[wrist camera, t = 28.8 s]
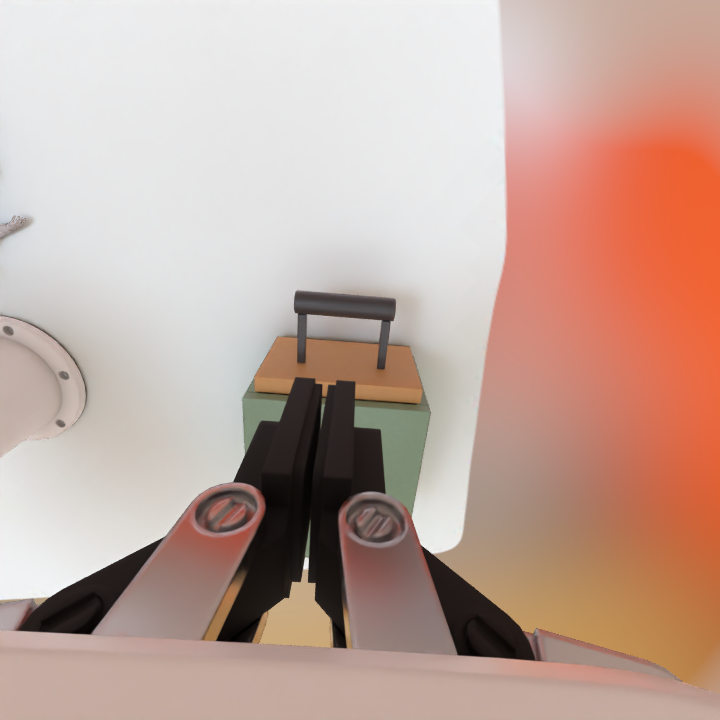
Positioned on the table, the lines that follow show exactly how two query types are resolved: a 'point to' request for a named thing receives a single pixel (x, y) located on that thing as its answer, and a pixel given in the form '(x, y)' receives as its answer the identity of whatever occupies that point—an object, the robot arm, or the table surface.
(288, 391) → the drawer
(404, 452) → the cabinet
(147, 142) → the table surface
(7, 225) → the soldier figure
